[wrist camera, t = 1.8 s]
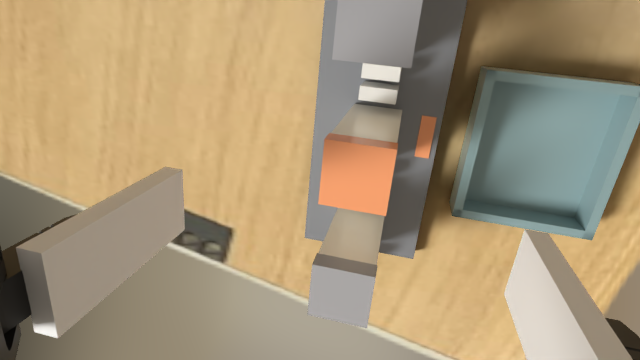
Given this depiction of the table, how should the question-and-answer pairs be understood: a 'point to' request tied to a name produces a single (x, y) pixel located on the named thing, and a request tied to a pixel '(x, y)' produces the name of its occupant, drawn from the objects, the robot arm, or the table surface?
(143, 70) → the table surface
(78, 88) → the table surface
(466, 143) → the tray
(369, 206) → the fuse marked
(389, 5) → the block
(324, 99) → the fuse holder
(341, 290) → the block
